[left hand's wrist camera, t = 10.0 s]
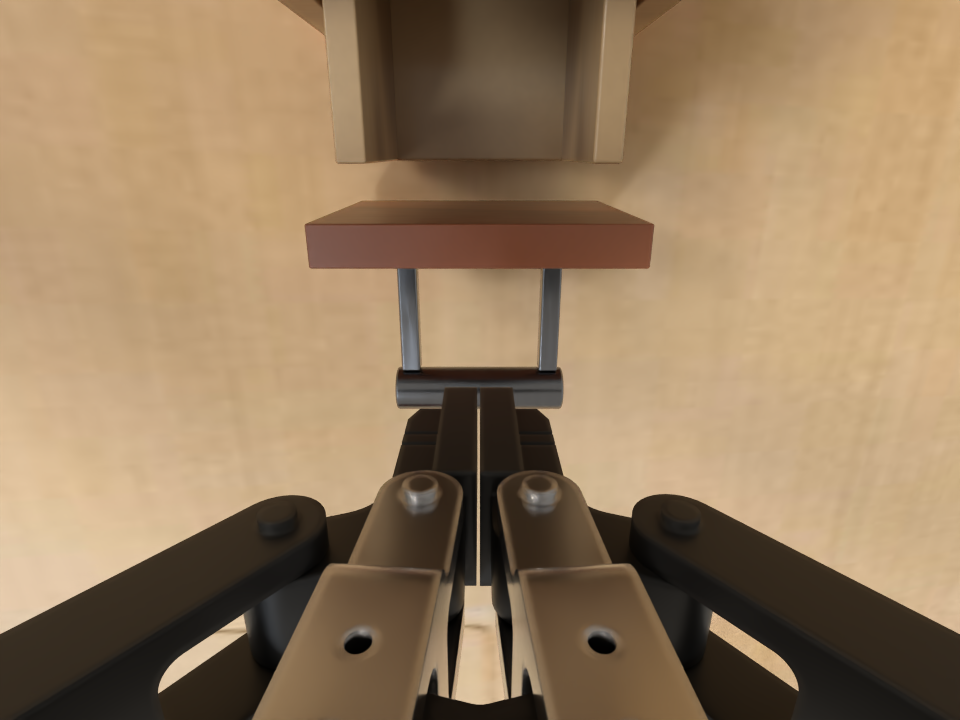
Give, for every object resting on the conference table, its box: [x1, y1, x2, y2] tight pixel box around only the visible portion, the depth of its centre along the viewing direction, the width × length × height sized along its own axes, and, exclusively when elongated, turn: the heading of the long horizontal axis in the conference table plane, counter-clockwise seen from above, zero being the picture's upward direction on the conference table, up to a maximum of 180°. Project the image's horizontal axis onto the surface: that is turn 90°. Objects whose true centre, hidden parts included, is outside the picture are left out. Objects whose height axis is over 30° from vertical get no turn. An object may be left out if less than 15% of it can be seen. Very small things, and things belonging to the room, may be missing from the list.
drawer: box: [305, 0, 654, 409], centre depth 16 cm, size 22×9×8 cm, turn 0°
